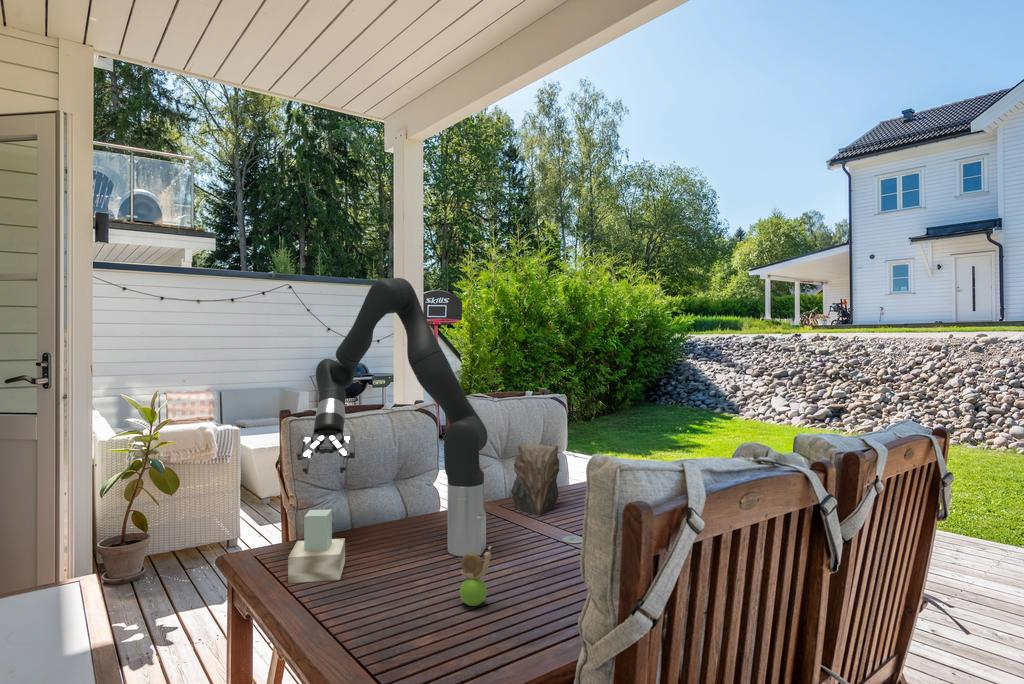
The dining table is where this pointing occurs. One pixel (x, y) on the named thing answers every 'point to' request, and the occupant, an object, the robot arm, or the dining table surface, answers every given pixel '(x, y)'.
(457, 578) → the dining table surface
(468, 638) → the dining table surface
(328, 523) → the sage block
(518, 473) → the owl
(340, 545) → the birch block
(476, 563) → the snail figurine
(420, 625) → the dining table surface
